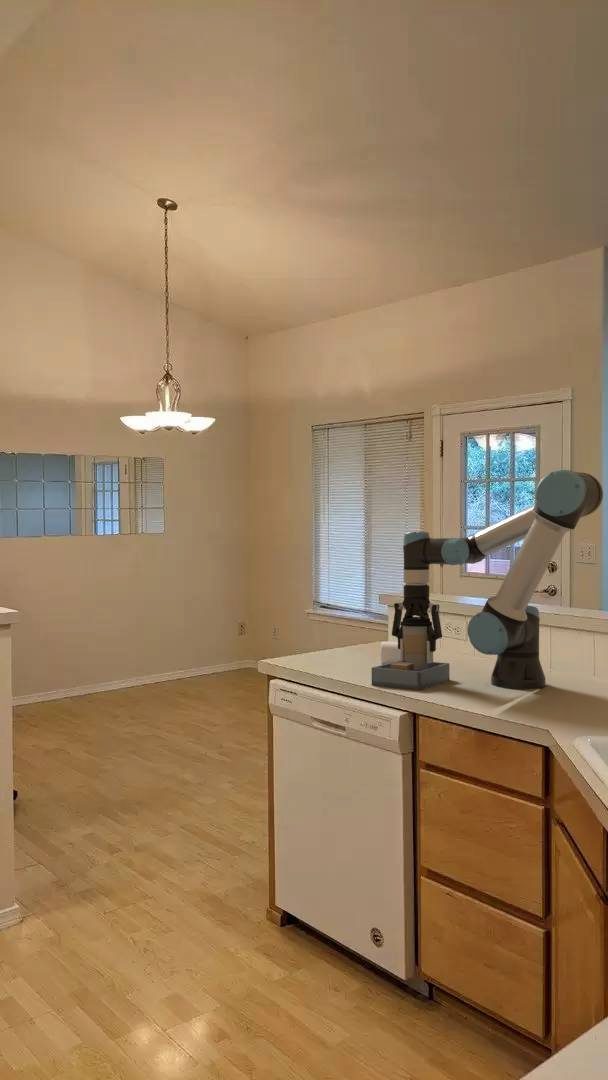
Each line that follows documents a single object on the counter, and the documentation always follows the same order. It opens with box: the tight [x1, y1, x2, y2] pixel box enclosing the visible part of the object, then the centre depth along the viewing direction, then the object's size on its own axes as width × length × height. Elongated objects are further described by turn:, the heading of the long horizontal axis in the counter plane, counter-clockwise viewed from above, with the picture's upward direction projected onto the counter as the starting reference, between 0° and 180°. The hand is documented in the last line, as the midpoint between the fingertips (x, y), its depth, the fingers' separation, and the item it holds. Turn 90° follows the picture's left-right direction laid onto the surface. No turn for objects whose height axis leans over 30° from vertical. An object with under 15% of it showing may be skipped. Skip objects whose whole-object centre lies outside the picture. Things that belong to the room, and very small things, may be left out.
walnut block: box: [391, 662, 414, 671], centre depth 243 cm, size 5×5×5 cm
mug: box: [380, 641, 400, 665], centre depth 281 cm, size 12×10×8 cm
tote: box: [371, 660, 450, 691], centre depth 248 cm, size 15×20×5 cm
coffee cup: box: [400, 616, 433, 671], centre depth 251 cm, size 9×9×15 cm
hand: (416, 661), depth 251 cm, fingers closed on coffee cup, 8 cm apart
